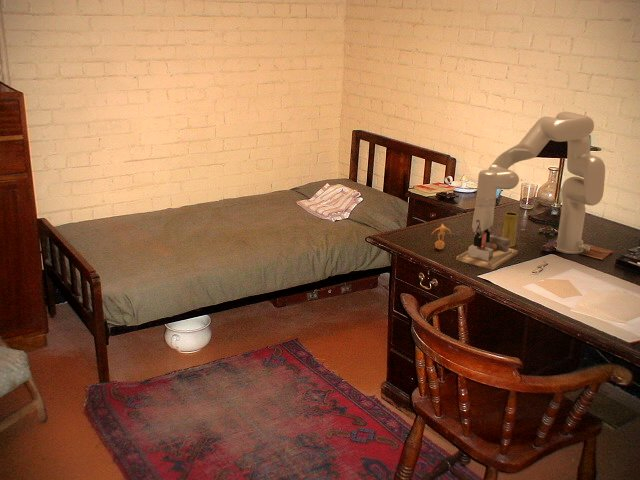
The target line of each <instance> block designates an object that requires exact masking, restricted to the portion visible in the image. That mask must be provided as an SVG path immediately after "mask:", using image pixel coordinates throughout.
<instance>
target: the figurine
mask: <svg viewBox="0 0 640 480" xmlns="http://www.w3.org/2000/svg"><path fill="white" fill-rule="evenodd" d="M436 231H439V232H438V234H437V237H438V240H437V241H436V242H435V244H434V246H435V249H437V250H439V251H440V250H443V249H444V247H445V241H444V236H445V234H446V232H445V231H449V233H450V235H452V232H451V229H450V228H448V227H446V226H445V225H444V223H441V225H440V226H439V227H438V228H436V229H434V230H433V231H432V233H431V235H433V234H434V233H435V232H436ZM441 235H442V237H440V236H441Z"/></svg>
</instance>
